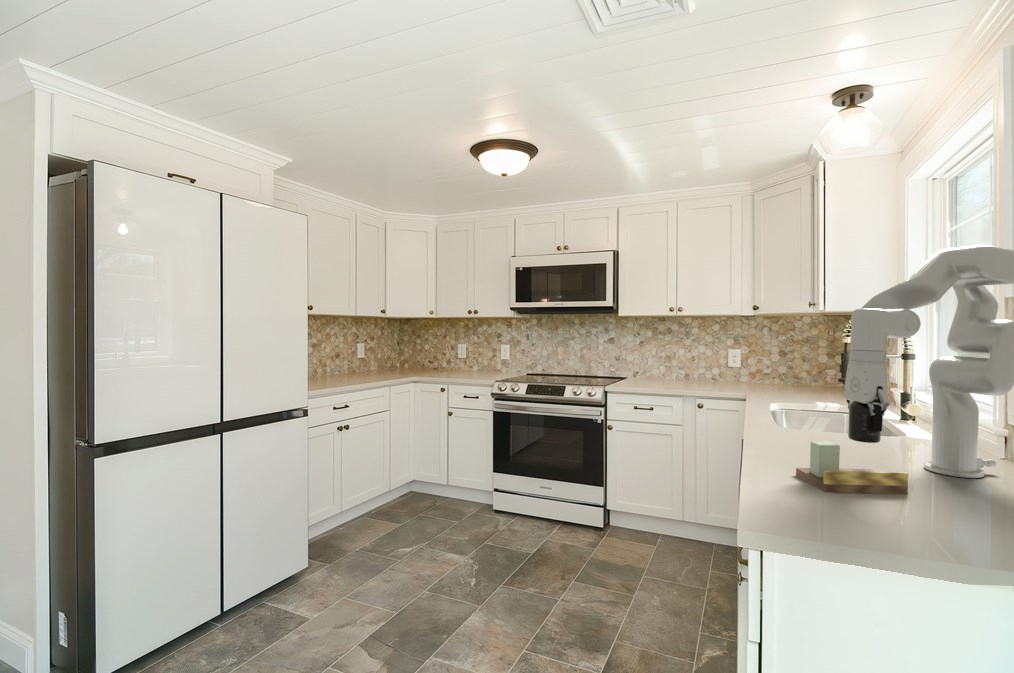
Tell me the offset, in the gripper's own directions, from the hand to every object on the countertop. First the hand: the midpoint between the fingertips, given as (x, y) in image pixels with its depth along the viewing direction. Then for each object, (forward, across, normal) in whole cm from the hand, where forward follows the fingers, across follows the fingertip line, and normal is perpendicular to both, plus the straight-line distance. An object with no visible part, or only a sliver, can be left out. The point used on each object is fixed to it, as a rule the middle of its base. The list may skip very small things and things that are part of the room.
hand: (864, 427), depth 132 cm
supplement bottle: (+3, 0, 0) cm, 3 cm away
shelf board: (+14, +1, -4) cm, 15 cm away
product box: (+12, 0, -9) cm, 15 cm away
